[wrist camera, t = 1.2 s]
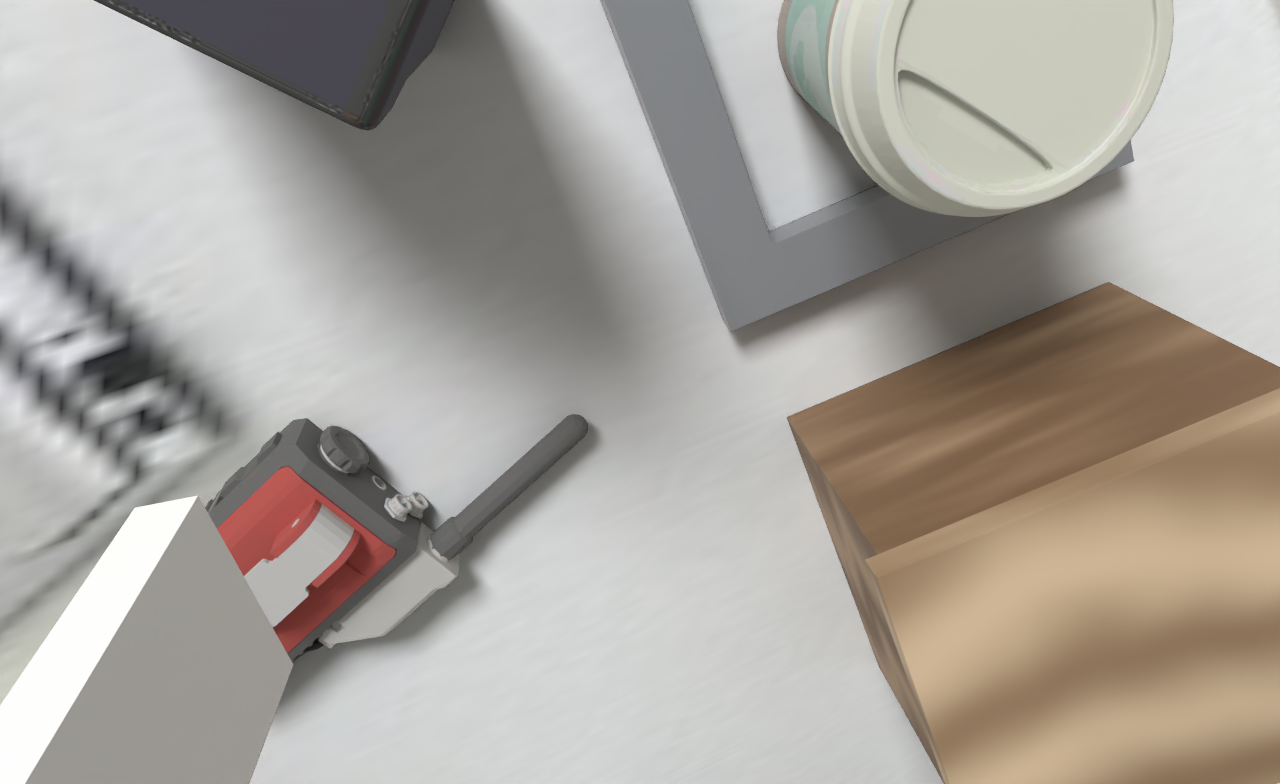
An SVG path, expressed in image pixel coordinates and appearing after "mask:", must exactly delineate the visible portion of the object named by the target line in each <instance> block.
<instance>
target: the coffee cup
mask: <svg viewBox="0 0 1280 784" xmlns="http://www.w3.org/2000/svg"><path fill="white" fill-rule="evenodd" d="M1173 24H1174V13H1173V0H784V2H783V5H782V8H781V11H780V16H779V21H778V31H777V41H778V50H779V56H780V60H781V63H782V66H783V69H784V71H785V74H786V76H787V78H788V79H789V81H790V83H791V84H792V86H793V87H794V88H795V90H796V91H797V92H798V93H799V94H800V95H801V96H802V97H803V98H804V99H805V100H806V101H807V102H808V103H809V104H810V105H811V106H812V107H813V108H814V109H815V110H816V111H817V112H818V113H819V114H820V115H821V116H822V117H823V118H824V119H825V120H826V121H827V122H829V123H830V124H831V125H832V126H833V127H834V128H835V129H836V130H837V131H838V132H839V133H840V134H841V135H842V136H843V138H844V140H845V142H846V144H847V146H848V148H849V150H850V151H851V153H852V155H853V156H854V158H855V159H856V161H857V162H858V163H859V165H860V166H861V167H862V168H863V170H864V171H865V172H866V173H867V174H868V175H869V176H870V177H871V178H872V179H873V180H874V181H875V182H876V183H877V184H878V185H879V186H881V187H882V188H883V189H884V190H886V191H887V192H888V193H890V194H891V195H893V196H894V197H896V198H898V199H899V200H901V201H903V202H905V203H907V204H909V205H912V206H914V207H917V208H919V209H922V210H926V211H929V212H933V213H938V214H944V215H952V216H964V217H987V216H996V215H1002V214H1007V213H1011V212H1015V211H1018V210H1022V209H1025V208H1028V207H1031V206H1035V205H1038V204H1041V203H1044V202H1047V201H1051V200H1053V199H1055V198H1057V197H1060V196H1062V195H1064V194H1066V193H1068V192H1070V191H1072V190H1074V189H1075V188H1077V187H1079V186H1080V185H1082V184H1083V183H1085V182H1086V181H1088V180H1089V179H1091V178H1092V177H1093V176H1095V175H1096V174H1097V173H1098V172H1099V171H1101V170H1102V169H1103V168H1104V167H1106V166H1107V165H1108V164H1109V163H1110V162H1111V161H1112V160H1113V159H1114V158H1115V157H1116V156H1117V155H1118V154H1119V153H1120V152H1121V151H1122V149H1123V148H1124V147H1125V146H1126V145H1127V143H1128V142H1129V141H1130V140H1131V138H1132V137H1133V136H1134V134H1135V133H1136V132H1137V130H1138V129H1139V127H1140V126H1141V124H1142V122H1143V121H1144V119H1145V117H1146V116H1147V114H1148V112H1149V111H1150V109H1151V107H1152V104H1153V102H1154V100H1155V98H1156V96H1157V94H1158V91H1159V89H1160V86H1161V83H1162V81H1163V78H1164V75H1165V72H1166V68H1167V64H1168V60H1169V56H1170V51H1171V45H1172V37H1173Z"/></svg>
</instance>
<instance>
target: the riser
mask: <svg viewBox="0 0 1280 784" xmlns="http://www.w3.org/2000/svg"><path fill="white" fill-rule="evenodd" d="M787 419H788V422H789V425H790V427H791V430H792V433H793V436H794V438H795V441H796V444H797V446H798V449H799V452H800V454H801V457H802V460H803V463H804V465H805V468H806V471H807V473H808V476H809V479H810V481H811V484H812V487H813V490H814V492H815V495H816V498H817V500H818V503H819V506H820V508H821V511H822V514H823V517H824V519H825V522H826V525H827V527H828V530H829V533H830V535H831V538H832V541H833V544H834V546H835V549H836V552H837V554H838V557H839V560H840V562H841V565H842V568H843V571H844V573H845V576H846V579H847V581H848V584H849V587H850V589H851V592H852V595H853V598H854V600H855V603H856V606H857V608H858V611H859V614H860V616H861V619H862V622H863V625H864V627H865V630H866V633H867V635H868V638H869V641H870V643H871V646H872V649H873V652H874V654H875V657H876V660H877V662H878V665H879V667H880V669H881V671H882V673H883V674H884V676H885V678H886V680H887V682H888V683H889V685H890V687H891V689H892V691H893V692H894V694H895V696H896V698H897V700H898V701H899V703H900V705H901V707H902V709H903V710H904V712H905V714H906V716H907V718H908V719H909V721H910V723H911V725H912V727H913V728H914V730H915V732H916V734H917V736H918V737H919V739H920V741H921V743H922V745H923V747H924V748H925V750H926V752H927V754H928V756H929V757H930V759H931V761H932V763H933V765H934V766H935V768H936V770H937V772H938V774H939V775H940V777H941V779H942V781H943V783H944V784H1277V783H1280V367H1278V366H1276V365H1274V364H1272V363H1270V362H1268V361H1266V360H1264V359H1262V358H1260V357H1258V356H1256V355H1254V354H1252V353H1250V352H1248V351H1246V350H1244V349H1242V348H1240V347H1238V346H1236V345H1234V344H1232V343H1230V342H1228V341H1226V340H1224V339H1222V338H1220V337H1218V336H1216V335H1214V334H1212V333H1210V332H1208V331H1206V330H1204V329H1202V328H1200V327H1198V326H1196V325H1194V324H1192V323H1190V322H1188V321H1186V320H1184V319H1182V318H1180V317H1178V316H1176V315H1174V314H1172V313H1170V312H1168V311H1166V310H1164V309H1162V308H1160V307H1158V306H1156V305H1154V304H1152V303H1150V302H1148V301H1146V300H1144V299H1142V298H1140V297H1138V296H1136V295H1134V294H1132V293H1130V292H1128V291H1126V290H1124V289H1122V288H1120V287H1118V286H1115V285H1113V284H1111V283H1109V282H1108V283H1106V284H1103V285H1101V286H1099V287H1096V288H1094V289H1092V290H1089V291H1087V292H1084V293H1082V294H1080V295H1077V296H1075V297H1072V298H1070V299H1068V300H1065V301H1063V302H1061V303H1058V304H1056V305H1053V306H1051V307H1049V308H1046V309H1044V310H1042V311H1039V312H1037V313H1034V314H1032V315H1030V316H1027V317H1025V318H1022V319H1020V320H1018V321H1015V322H1013V323H1011V324H1008V325H1006V326H1003V327H1001V328H999V329H996V330H994V331H991V332H989V333H987V334H984V335H982V336H980V337H977V338H975V339H972V340H970V341H968V342H965V343H963V344H961V345H958V346H956V347H953V348H951V349H949V350H946V351H944V352H941V353H939V354H937V355H934V356H932V357H930V358H927V359H925V360H922V361H920V362H918V363H915V364H913V365H910V366H908V367H906V368H903V369H901V370H899V371H896V372H894V373H891V374H889V375H887V376H884V377H882V378H880V379H877V380H875V381H872V382H870V383H868V384H865V385H863V386H860V387H858V388H856V389H853V390H851V391H849V392H846V393H844V394H841V395H839V396H837V397H834V398H832V399H829V400H827V401H825V402H822V403H820V404H818V405H815V406H813V407H810V408H808V409H806V410H803V411H801V412H799V413H796V414H794V415H791V416H789V417H787Z"/></svg>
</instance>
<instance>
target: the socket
mask: <svg viewBox="0 0 1280 784" xmlns="http://www.w3.org/2000/svg"><path fill="white" fill-rule="evenodd" d="M600 1H601V3H602V6H603V8H604V11H605V14H606V16H607V19H608V21H609V24H610V27H611V29H612V32H613V34H614V37H615V40H616V42H617V45H618V47H619V50H620V53H621V55H622V58H623V60H624V63H625V66H626V68H627V71H628V74H629V76H630V79H631V81H632V84H633V87H634V89H635V92H636V94H637V97H638V100H639V102H640V105H641V107H642V110H643V113H644V115H645V118H646V120H647V123H648V126H649V128H650V131H651V133H652V136H653V139H654V141H655V144H656V147H657V149H658V152H659V154H660V157H661V160H662V162H663V165H664V167H665V170H666V173H667V175H668V178H669V180H670V183H671V186H672V188H673V191H674V193H675V196H676V199H677V201H678V204H679V206H680V209H681V212H682V214H683V217H684V220H685V222H686V225H687V227H688V230H689V233H690V235H691V238H692V240H693V243H694V246H695V248H696V251H697V253H698V256H699V259H700V261H701V264H702V266H703V269H704V272H705V274H706V277H707V279H708V282H709V285H710V287H711V290H712V293H713V295H714V298H715V300H716V303H717V306H718V308H719V311H720V313H721V316H722V319H723V320H724V322H725V323H726V325H727V326H728V328H729V329H730V331H734V330H736V329H738V328H741V327H743V326H745V325H748V324H750V323H752V322H755V321H757V320H760V319H762V318H764V317H767V316H769V315H771V314H774V313H776V312H778V311H781V310H783V309H786V308H788V307H790V306H793V305H795V304H797V303H800V302H802V301H804V300H807V299H809V298H811V297H814V296H816V295H819V294H821V293H823V292H826V291H828V290H830V289H833V288H835V287H837V286H840V285H842V284H845V283H847V282H849V281H852V280H854V279H856V278H859V277H861V276H863V275H866V274H868V273H871V272H873V271H875V270H878V269H880V268H882V267H885V266H887V265H889V264H892V263H894V262H896V261H899V260H901V259H904V258H906V257H908V256H911V255H913V254H915V253H918V252H920V251H922V250H925V249H927V248H930V247H932V246H934V245H937V244H939V243H941V242H944V241H946V240H948V239H951V238H953V237H956V236H958V235H960V234H963V233H965V232H967V231H970V230H972V229H974V228H977V227H979V226H982V225H984V224H986V223H989V222H991V221H993V220H996V219H998V218H1000V217H1003V216H1005V215H1007V214H1010V213H1007V214H1002V215H996V216H987V217H964V216H952V215H944V214H938V213H933V212H929V211H926V210H922V209H919V208H917V207H914V206H912V205H909V204H907V203H905V202H903V201H901V200H899V199H898V198H896V197H894V196H893V195H891V194H890V193H888V192H887V191H886V190H884V189H883V188H882V187H881V186H879V185H877V186H875V187H873V188H870V189H868V190H866V191H863V192H861V193H859V194H856V195H854V196H852V197H849V198H847V199H845V200H842V201H840V202H838V203H835V204H833V205H831V206H828V207H826V208H823V209H821V210H819V211H816V212H814V213H812V214H809V215H807V216H805V217H802V218H800V219H798V220H795V221H793V222H791V223H788V224H786V225H784V226H781V227H779V228H777V229H774V230H772V231H770V232H768V231H767V228H766V225H765V222H764V219H763V216H762V214H761V211H760V208H759V205H758V202H757V199H756V196H755V193H754V191H753V188H752V185H751V182H750V179H749V176H748V173H747V170H746V168H745V165H744V162H743V159H742V156H741V153H740V150H739V147H738V144H737V142H736V139H735V136H734V133H733V130H732V127H731V124H730V121H729V119H728V116H727V113H726V110H725V107H724V104H723V101H722V98H721V96H720V93H719V90H718V87H717V84H716V81H715V78H714V75H713V72H712V70H711V67H710V64H709V61H708V58H707V55H706V52H705V49H704V47H703V44H702V41H701V38H700V35H699V32H698V29H697V26H696V24H695V21H694V18H693V15H692V12H691V9H690V6H689V3H688V0H600ZM1133 161H1134V157H1133V152H1132V146H1131V140H1130V141H1129V142H1128V143H1127V145H1126V146H1125V147H1124V148H1123V149H1122V151H1121V152H1120V153H1119V154H1118V155H1117V156H1116V157H1115V158H1114V159H1113V160H1112V161H1111V162H1110V163H1109V164H1108V165H1107V166H1106V167H1104V168H1103V169H1102V170H1101V171H1099V172H1098V173H1097V174H1096V175H1095V176H1093V177H1092V178H1091V179H1093V178H1095V177H1097V176H1100V175H1102V174H1104V173H1107V172H1109V171H1111V170H1114V169H1116V168H1118V167H1121V166H1123V165H1126V164H1128V163H1130V162H1133ZM1089 180H1090V179H1089ZM1011 213H1012V212H1011Z"/></svg>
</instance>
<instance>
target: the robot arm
mask: <svg viewBox="0 0 1280 784" xmlns="http://www.w3.org/2000/svg"><path fill="white" fill-rule="evenodd" d="M292 668H293V663H292V661H291V659H290V658H289V656H288V654H287V652H286V651H285V649H284V647H283V645H282V643H281V642H280V640H279V638H278V636H277V635H276V633H275V631H274V629H273V627H272V626H271V624H270V622H269V620H268V619H267V617H266V615H265V613H264V612H263V610H262V608H261V606H260V604H259V603H258V601H257V599H256V597H255V596H254V594H253V592H252V590H251V588H250V587H249V585H248V583H247V581H246V580H245V578H244V576H243V574H242V572H241V571H240V569H239V567H238V565H237V564H236V562H235V560H234V558H233V557H232V555H231V553H230V551H229V549H228V548H227V546H226V544H225V542H224V541H223V539H222V537H221V535H220V533H219V532H218V530H217V528H216V526H215V525H214V523H213V521H212V519H211V517H210V516H209V514H208V512H207V510H206V509H205V507H204V505H203V503H202V501H201V500H200V498H199V496H193V497H188V498H183V499H178V500H173V501H167V502H162V503H157V504H152V505H147V506H141V507H136V508H134V510H133V511H132V513H131V514H130V516H129V517H128V519H127V520H126V522H125V523H124V524H123V526H122V527H121V529H120V530H119V532H118V533H117V535H116V536H115V538H114V539H113V541H112V542H111V544H110V545H109V547H108V548H107V549H106V551H105V552H104V554H103V555H102V557H101V558H100V560H99V561H98V563H97V564H96V566H95V567H94V569H93V570H92V572H91V573H90V574H89V576H88V577H87V579H86V580H85V582H84V583H83V585H82V586H81V588H80V589H79V591H78V592H77V594H76V595H75V596H74V598H73V599H72V601H71V602H70V604H69V605H68V607H67V608H66V610H65V611H64V613H63V614H62V616H61V617H60V619H59V620H58V621H57V623H56V624H55V626H54V627H53V629H52V630H51V632H50V633H49V635H48V636H47V638H46V639H45V641H44V642H43V643H42V645H41V646H40V648H39V649H38V651H37V652H36V654H35V655H34V657H33V658H32V660H31V661H30V663H29V664H28V666H27V667H26V668H25V670H24V671H23V673H22V674H21V676H20V677H19V679H18V680H17V682H16V683H15V685H14V686H13V688H12V689H11V690H10V692H9V693H8V695H7V696H6V698H5V699H4V701H3V702H2V704H1V705H0V784H249V783H250V780H251V778H252V775H253V772H254V769H255V767H256V764H257V761H258V759H259V756H260V753H261V751H262V748H263V745H264V743H265V740H266V737H267V735H268V732H269V729H270V727H271V724H272V721H273V719H274V716H275V713H276V711H277V708H278V705H279V702H280V700H281V697H282V694H283V692H284V689H285V686H286V684H287V681H288V678H289V676H290V673H291V670H292Z"/></svg>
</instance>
